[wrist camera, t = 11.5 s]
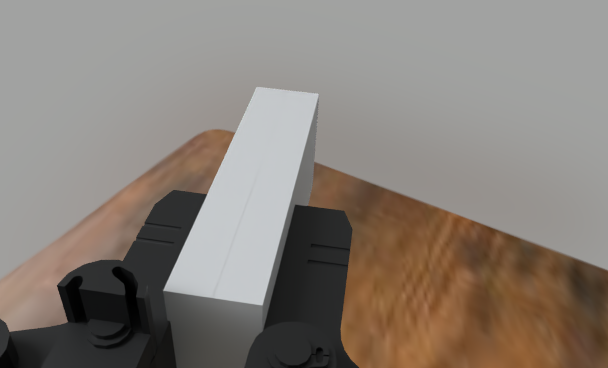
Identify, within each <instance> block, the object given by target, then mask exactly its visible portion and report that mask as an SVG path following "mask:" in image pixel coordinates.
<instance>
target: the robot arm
mask: <svg viewBox="0 0 608 368" xmlns="http://www.w3.org/2000/svg"><path fill="white" fill-rule="evenodd" d="M318 102H319V94H315V93H305V92H296V91H288V90H280V89H271V88H262V87H257V88H256V90H255V92H254V94H253V97H252V99H251V101H250V103H249V105H248V108H247V110H246V112H245V114H244V116H243V118H242V121H241V123H240V125H239V127H238V129H237V131H236V133H235V136H234V138H233V140H232V142H231V144H230V146H229V149H228V151H227V153H226V155H225V157H224V159H223V162H222V164H221V166H220V168H219V170H218V173H217V175H216V177H215V179H214V181H213V183H212V186H211V188H210V190H209V192H208V194H200V193H192V192H185V191H177V190H173V191H172V192H170V193H169V194H168V195H166V196H165V197H164V198H163V199H161V200H160V201H159V202H157V203H156V204H155V205H154V207H153V209H152V210H151V212H150V214H149V216H148V217H147V219H146V221H145V225H144V226H142V228H141V230H140V232H139V233H138V235H137V237H136V241H134V242H133V244H132V246H131V247H130V249H129V251H128V253H127V255H126V256H125V258H124V260H123V261H120V260H99V261H96V262H92V263H88V264H84V265H82V266H81V267H79V268H77V269H75V270H73V271H72V272H70V273H68V274H67V275H66V276H65V277H64V278H63V279H62V281H61V282H60V283H59V284H58V285H57V287H58V291H59V294H60V297H61V300H62V304H63V307H64V310H65V313H66V317H67V320H68V322H67V323H65V324H61V325H57V326H52V327H46V328H38V329H29V330H21V331H13V332H9V330H8V327H7V325H6V323H5V322H4V321H2V320H1V319H0V368H359V367H358V366H357V365H356V364H355V363H354V362H353V361H352V360H351V359H350V358H349V356H348V355H347V353H346V352H345V350H344V347H343V344H342V341H341V330H340V328H341V320H342V312H343V303H344V295H345V287H346V279H347V270H348V262H349V254H350V246H351V237H352V227H351V225H350V223H349V221H348V218H347V216H346V214H345V212H344V211H341V210H333V209H325V208H318V207H310V206H308V203H309V198H310V194H311V189H312V184H313V170H314V156H315V142H316V141H315V140H316V128H317V115H318Z"/></svg>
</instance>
